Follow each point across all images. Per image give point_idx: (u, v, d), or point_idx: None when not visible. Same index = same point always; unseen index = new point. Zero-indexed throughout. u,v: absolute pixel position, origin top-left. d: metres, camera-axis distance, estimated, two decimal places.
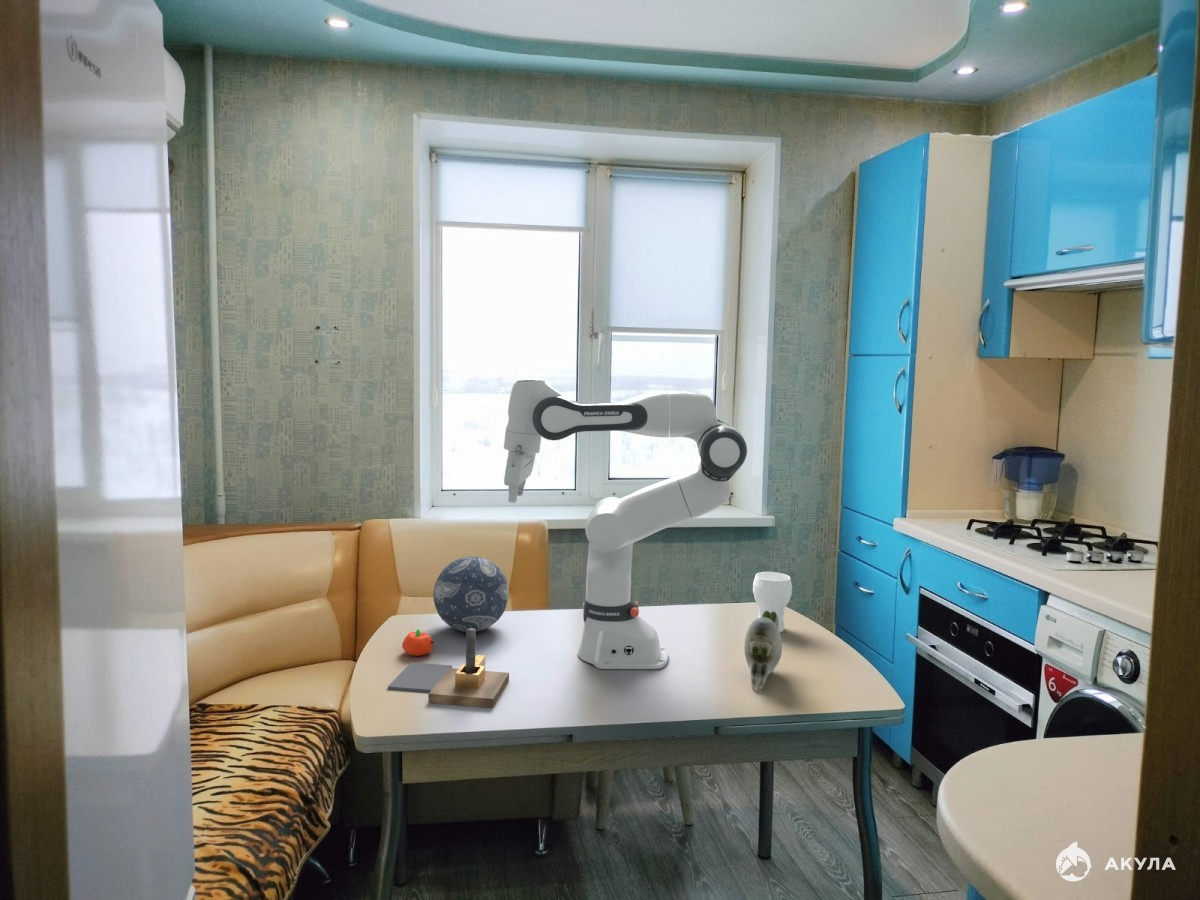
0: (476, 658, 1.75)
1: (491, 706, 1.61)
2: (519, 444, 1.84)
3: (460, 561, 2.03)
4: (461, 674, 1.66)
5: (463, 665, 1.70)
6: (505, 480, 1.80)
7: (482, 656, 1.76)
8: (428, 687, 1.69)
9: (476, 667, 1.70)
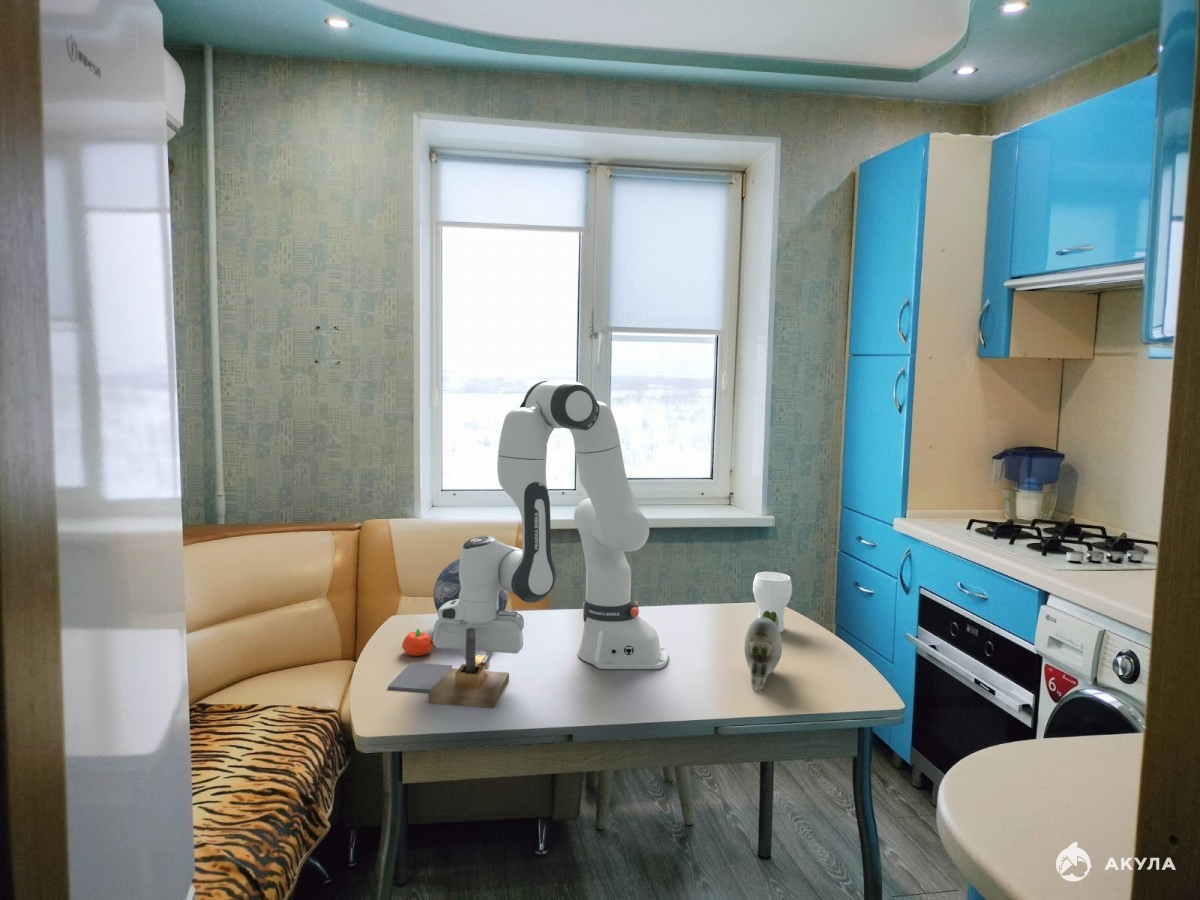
0: (476, 658, 1.75)
1: (491, 706, 1.61)
2: (497, 609, 1.72)
3: None
4: (461, 674, 1.66)
5: (463, 665, 1.70)
6: (520, 648, 1.71)
7: (482, 656, 1.76)
8: (428, 687, 1.69)
9: (476, 667, 1.70)
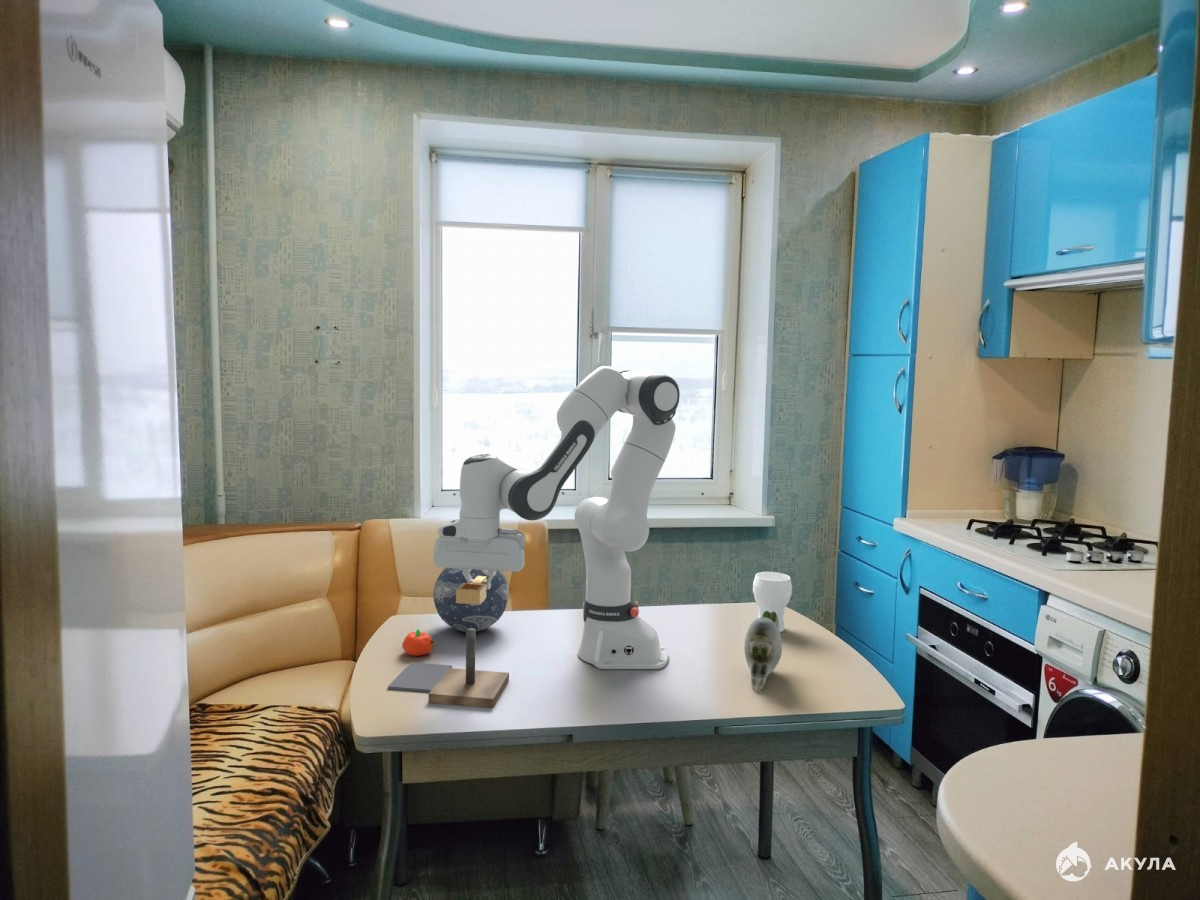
0: (477, 578, 1.73)
1: (491, 706, 1.61)
2: (499, 527, 1.70)
3: None
4: (462, 590, 1.64)
5: (464, 583, 1.68)
6: (521, 566, 1.69)
7: (483, 577, 1.74)
8: (428, 687, 1.69)
9: (477, 585, 1.68)
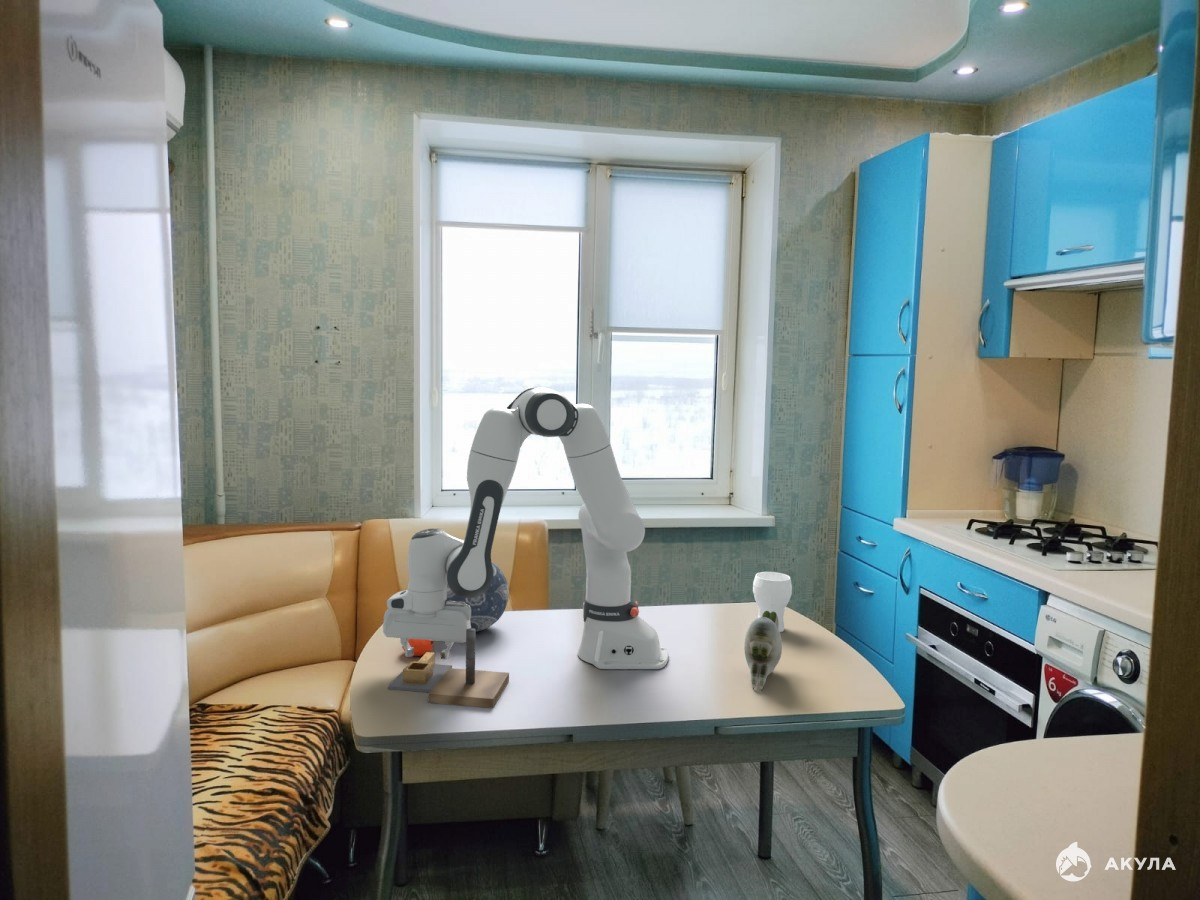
0: (425, 655, 1.79)
1: (491, 706, 1.61)
2: (446, 599, 1.77)
3: None
4: (408, 670, 1.70)
5: (411, 662, 1.75)
6: None
7: (431, 653, 1.81)
8: (428, 687, 1.69)
9: (424, 664, 1.75)
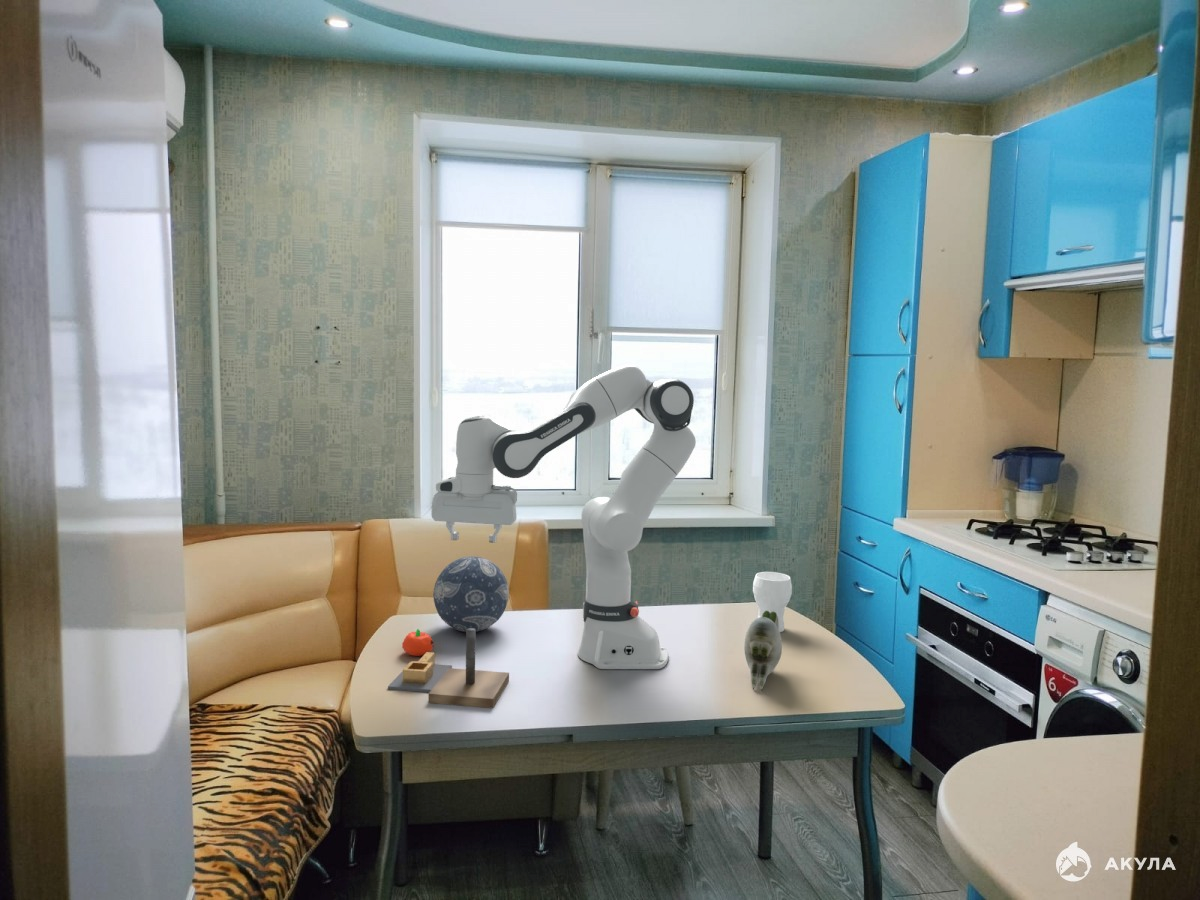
0: (425, 655, 1.79)
1: (491, 706, 1.61)
2: (492, 484, 1.83)
3: (460, 561, 2.03)
4: (408, 670, 1.70)
5: (411, 662, 1.75)
6: (513, 520, 1.82)
7: (431, 653, 1.81)
8: (428, 687, 1.69)
9: (424, 664, 1.75)
